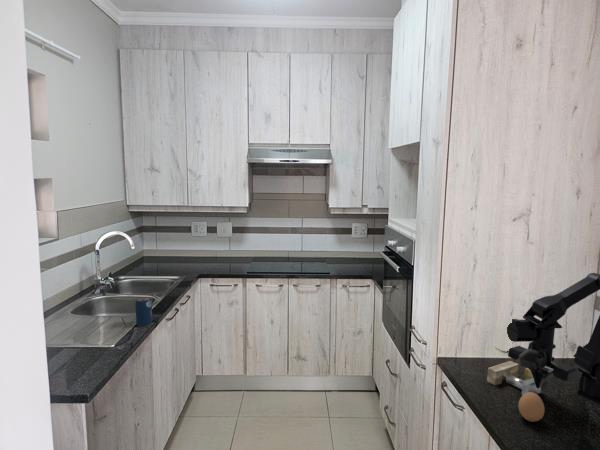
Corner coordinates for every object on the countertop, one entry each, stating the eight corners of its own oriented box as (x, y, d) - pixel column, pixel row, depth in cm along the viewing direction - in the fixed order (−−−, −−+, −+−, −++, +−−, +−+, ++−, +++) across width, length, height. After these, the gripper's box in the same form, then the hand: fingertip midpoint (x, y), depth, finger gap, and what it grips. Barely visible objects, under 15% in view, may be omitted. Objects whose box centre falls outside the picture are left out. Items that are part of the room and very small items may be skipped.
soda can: (155, 324, 184) (154, 298, 183) (141, 328, 179) (140, 302, 177) (147, 320, 188) (146, 295, 187) (133, 324, 183) (132, 298, 182)
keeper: (539, 379, 140) (540, 365, 139) (526, 384, 136) (528, 370, 136) (536, 377, 141) (537, 364, 140) (523, 382, 137) (524, 368, 137)
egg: (520, 424, 114) (523, 397, 113) (515, 411, 120) (517, 385, 119) (546, 428, 112) (549, 401, 111) (539, 415, 119) (541, 389, 118)
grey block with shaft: (540, 392, 131) (542, 379, 131) (527, 398, 128) (528, 384, 127) (514, 380, 139) (515, 367, 138) (501, 384, 136) (502, 371, 135)
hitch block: (517, 377, 141) (518, 364, 140) (494, 385, 135) (495, 371, 135) (509, 373, 144) (510, 360, 143) (486, 381, 138) (488, 367, 137)
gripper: (499, 334, 131) (495, 380, 132) (559, 357, 114) (553, 409, 116) (520, 328, 136) (516, 372, 138) (580, 350, 120) (575, 399, 122)
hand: (538, 387), depth 128 cm, fingers closed
